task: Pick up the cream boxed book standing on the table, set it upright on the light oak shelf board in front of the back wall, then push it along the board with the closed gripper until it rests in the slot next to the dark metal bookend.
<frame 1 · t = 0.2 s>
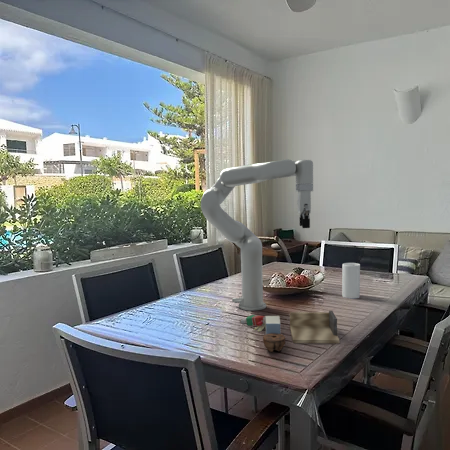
hand: (304, 226, 189), 37 cm above the table, tool pointing down, fingers open, 9 cm apart
shelf: (313, 335, 157), on the table
artifact: (274, 351, 143), on the table
book: (273, 340, 153), on the table
toy: (256, 325, 171), on the table
cup: (350, 296, 209), on the table
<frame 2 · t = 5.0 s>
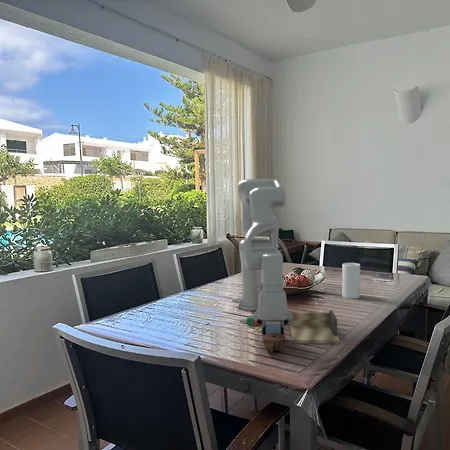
hand: (273, 336, 153), 1 cm above the table, tool pointing down, fingers closed on book, 5 cm apart
book: (273, 339, 153), on the table, touching gripper
everything else where it was.
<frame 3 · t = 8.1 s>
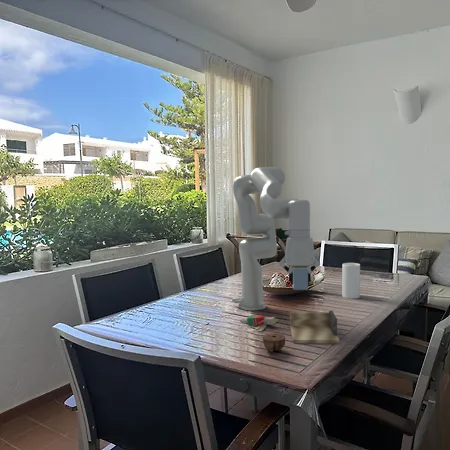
hand: (299, 283, 154), 20 cm above the table, tool pointing down, fingers closed on book, 5 cm apart
book: (299, 286, 155), point 19 cm above the table, touching gripper
everything else where it was.
when the fingers open (3 cm above the table, at t = 11.3 s): book stays where it is, resting on shelf.
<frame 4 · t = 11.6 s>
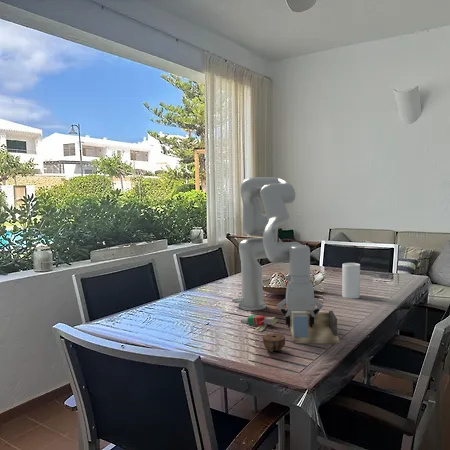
hand: (299, 325, 156), 4 cm above the table, tool pointing down, fingers open, 7 cm apart
book: (299, 332, 156), point 1 cm above the table, touching shelf
everything else where it was.
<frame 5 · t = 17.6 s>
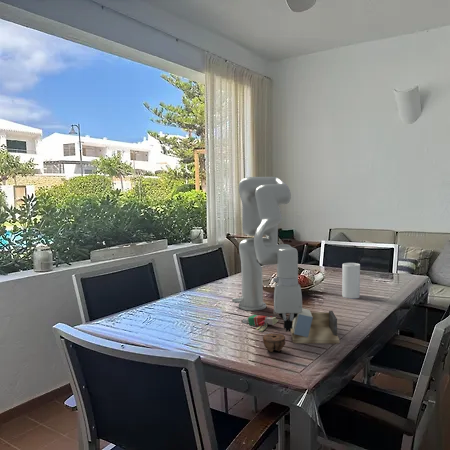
hand: (288, 330, 156), 2 cm above the table, tool pointing down, fingers closed
book: (299, 331, 156), point 2 cm above the table, tilted 13°, touching shelf
everything else where it was.
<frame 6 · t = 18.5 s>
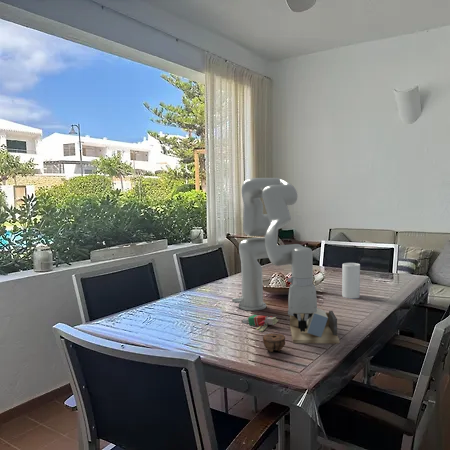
hand: (302, 330, 156), 2 cm above the table, tool pointing down, fingers closed
book: (312, 330, 156), point 2 cm above the table, tilted 19°, touching gripper
everything else where it was.
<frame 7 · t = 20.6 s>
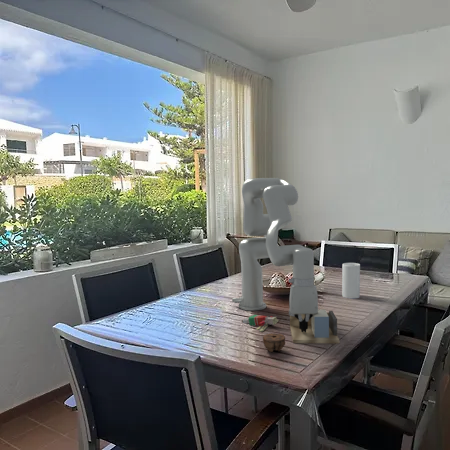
hand: (303, 330, 156), 2 cm above the table, tool pointing down, fingers closed
book: (320, 333, 156), point 1 cm above the table, touching shelf
everything else where it was.
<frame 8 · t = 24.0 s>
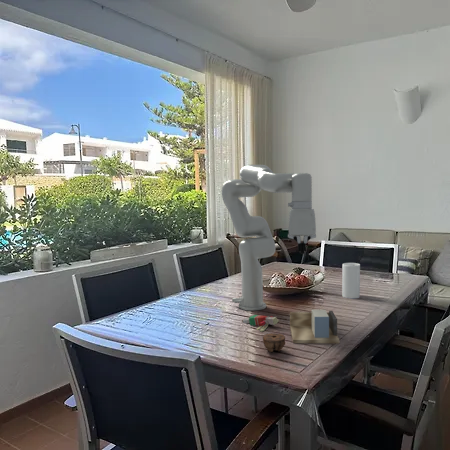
hand: (302, 253, 164), 29 cm above the table, tool pointing down, fingers closed
at the end: book 1.2 cm from the target spot on the shelf, point 1.2 cm above the shelf's base; book tilted 0° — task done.
